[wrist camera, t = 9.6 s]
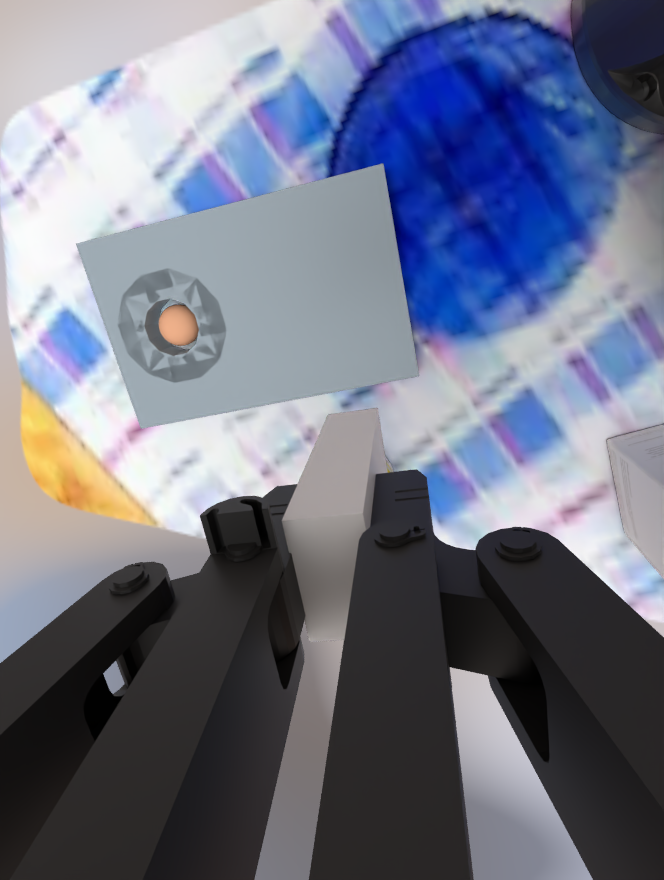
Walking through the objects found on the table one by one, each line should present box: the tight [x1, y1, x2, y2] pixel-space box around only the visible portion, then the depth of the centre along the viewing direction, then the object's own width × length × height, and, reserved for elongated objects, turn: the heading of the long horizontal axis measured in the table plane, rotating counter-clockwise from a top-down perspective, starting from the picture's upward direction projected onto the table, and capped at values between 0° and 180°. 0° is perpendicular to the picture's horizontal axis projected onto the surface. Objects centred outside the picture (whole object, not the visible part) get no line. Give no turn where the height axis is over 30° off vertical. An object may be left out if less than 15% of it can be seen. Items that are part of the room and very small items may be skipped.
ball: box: [159, 305, 199, 346], centre depth 39 cm, size 3×3×3 cm
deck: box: [76, 164, 419, 429], centre depth 38 cm, size 22×14×2 cm, turn 102°
